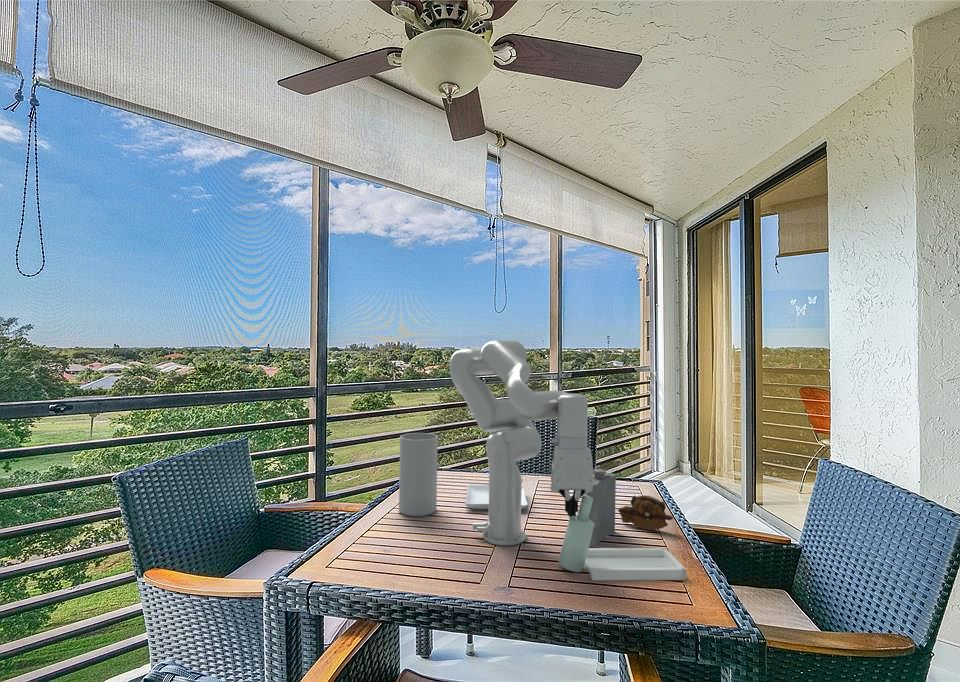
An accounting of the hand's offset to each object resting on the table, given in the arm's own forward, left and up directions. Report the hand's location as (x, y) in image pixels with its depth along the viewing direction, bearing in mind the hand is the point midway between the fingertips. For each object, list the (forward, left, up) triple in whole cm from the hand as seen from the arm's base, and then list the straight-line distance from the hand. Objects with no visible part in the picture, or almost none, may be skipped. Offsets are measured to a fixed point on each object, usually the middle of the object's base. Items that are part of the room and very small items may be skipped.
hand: (571, 514), depth 129 cm
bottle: (0, 0, -13) cm, 13 cm away
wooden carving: (+30, +27, -14) cm, 43 cm away
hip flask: (+13, +20, -14) cm, 28 cm away
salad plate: (-15, +52, -14) cm, 56 cm away
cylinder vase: (-42, +43, -14) cm, 62 cm away
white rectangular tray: (+15, 0, -14) cm, 20 cm away
